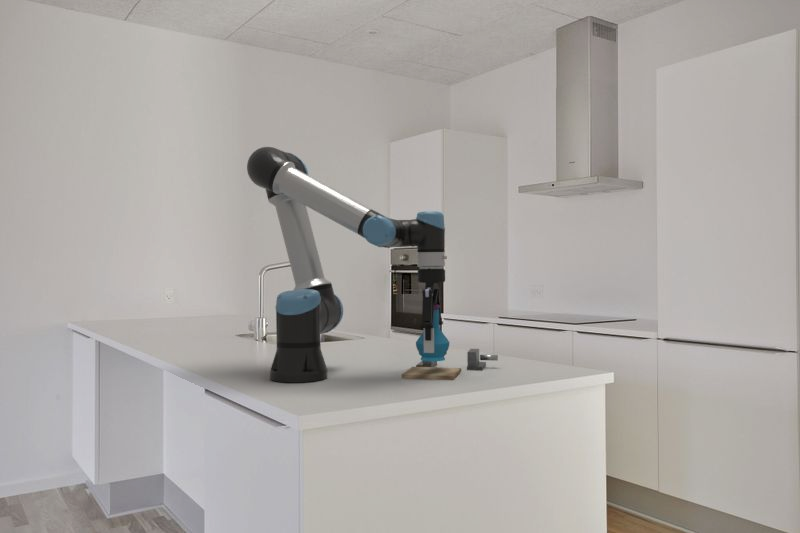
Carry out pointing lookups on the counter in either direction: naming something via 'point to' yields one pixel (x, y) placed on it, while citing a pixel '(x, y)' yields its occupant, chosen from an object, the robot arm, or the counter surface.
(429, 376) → the pad
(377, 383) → the counter surface
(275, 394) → the counter surface
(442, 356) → the blue vase
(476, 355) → the vise
